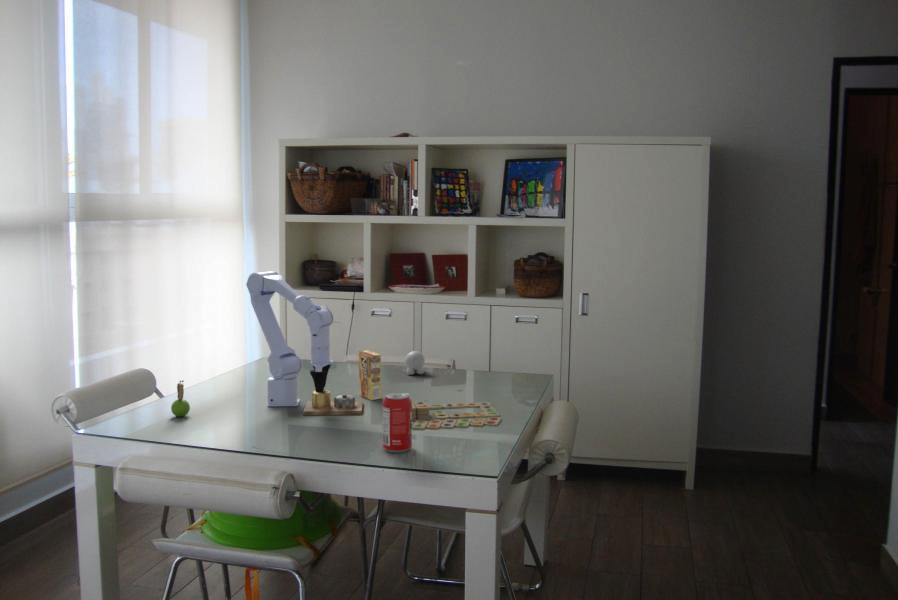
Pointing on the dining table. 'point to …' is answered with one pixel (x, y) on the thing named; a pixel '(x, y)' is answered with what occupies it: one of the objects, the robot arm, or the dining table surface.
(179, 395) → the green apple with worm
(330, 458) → the dining table surface
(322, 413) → the gear board
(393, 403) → the soda can
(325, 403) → the brass gear
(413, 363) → the chubby cartoon animal
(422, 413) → the pile of dominoes
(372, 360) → the candy box
